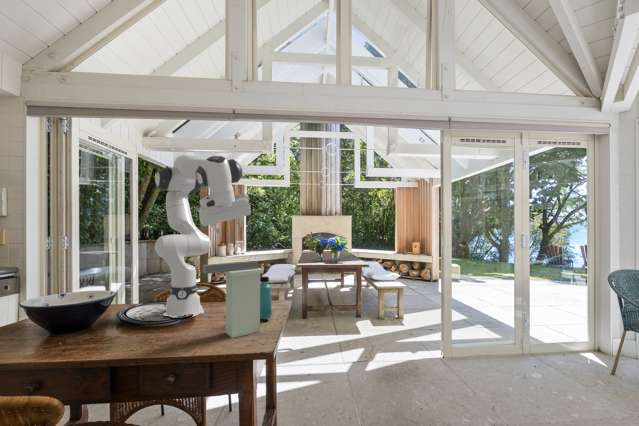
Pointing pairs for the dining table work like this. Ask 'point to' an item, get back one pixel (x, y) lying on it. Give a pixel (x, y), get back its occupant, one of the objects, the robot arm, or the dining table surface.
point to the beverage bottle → (265, 299)
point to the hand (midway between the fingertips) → (228, 230)
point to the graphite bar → (230, 267)
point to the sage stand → (243, 302)
